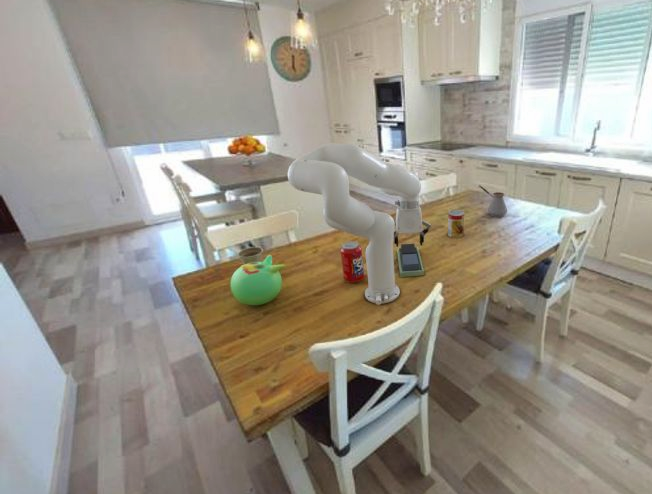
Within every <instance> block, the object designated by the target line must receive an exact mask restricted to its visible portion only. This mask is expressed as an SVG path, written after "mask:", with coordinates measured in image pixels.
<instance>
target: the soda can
mask: <svg viewBox="0 0 652 494" xmlns="http://www.w3.org/2000/svg"><path fill="white" fill-rule="evenodd" d="M362 249H363V248H362V246H361V245H360V243H359V242H357V241H346V242H344V243H342V244H341V248H340V249H339V250H340V258H341V266H342V275H343V280H344V281H345V282H347V283H354V284H355V283H358V282H361V281H362V280H363V279H364V277H365V270H364V261H363V252H362V251H363V250H362Z"/></svg>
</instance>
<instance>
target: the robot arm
mask: <svg viewBox="0 0 652 494" xmlns="http://www.w3.org/2000/svg"><path fill="white" fill-rule="evenodd" d="M418 173H419V172H417V171H415V170H407V169H405V168H403V167H399V166H396V165H394V164H392V163H390V162H387V161H384V160H382V159H380V158H378V157H376V156H375V155H373V154H372V153H370V152H369V151H367V150H365V148H363V147H361V146H359V145H357V144H354V143H353V144H352V143H340V142H328V143H325V144H323V145H320V146H318V147H316V148H314V149H313V150H311V151H309V152H307V153H305V154H303V155H301V156H299V157H298V158H296V159H295V160H293V161H292V162H291V164H290V165H289V167H288V170H287V180H288V183H289V184H290V185H291V187H292V188H294V189H295V190H297V191H300V192H305V193H311V194H316V195H322V196H323V210H322V215H323V219H324V221H325V223H326V225H328V226H329V227H331V228H333V229H335V230H338V231H341V232H343V233H346V234H349V235H352V236H355V237H360V238H364V239H367V240H369V243H368V244H367V246H366V248H365V263H366V272H367V273H366V274H367V275H366V276H367V283H368V284H367V285H368V287H367V288H366V289H365V291H364V297H365V299H366V300H367V301H368V302H370V303H373V304H376V305H377V306H380V305H382V304H387V303H391V302H393V301H395V300H396V299H398V298H399V296H400V293H401V291H400V288H399V287H400V286H398V285H397V284H396V277H395V276H396V275H395V257H394V244H395V246H396V247H397V248H399V235H408V234H419V245H420V246H423V243H425V236H426V234H427V233H429V231H430V229H431V227H432V225H431V223H429V222H427V221H425V220H423V215H422V209H421V206H420V205H419V194H420V193H421V189H422V184H421V183H422V182H421V181H420V179H419V174H418ZM349 177H351V178H353V179H355V180H358V181H360V182H363V183H364V184H367V185H368V186H371V187H375V188H379V189H381V191H382V192H383V193H384V194H386V195H389V196H395V197H398V199H397V200H395V201H394V205H396V212H395V213H396V214H395V220H394V218H393V217H392V216H391V215H390V214H388V213H386V212H382V211H378V210H373V209H372V208H371V207H370V206H369V205H367V204H366V203H364V202H362V201H360V200H359V199H356V198H354V197H353V196H351V195H350V179H349ZM423 226H425V228H424V229H423Z"/></svg>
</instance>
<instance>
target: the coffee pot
mask: <svg viewBox="0 0 652 494" xmlns="http://www.w3.org/2000/svg"><path fill="white" fill-rule="evenodd" d="M478 189H482V190H483V192H484V193H486V194H488V195H489V196H490V197H491V198H492V200H491V201H490V203H489V205H488V207H487V212H488V214H489V215H490V216H491V217H494V218H501V217H504V215H506V214H507V213H508V207H507V205H506V202H505V200H504V196H505V193H504V192H501V191H499V192H498V191H495V192H493V193H492V194H491V193H490V192H489V191H488V190H487V189H486V188H484V187H483V186H482V185H480V184H479V185H478Z"/></svg>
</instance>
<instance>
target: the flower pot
mask: <svg viewBox="0 0 652 494" xmlns="http://www.w3.org/2000/svg"><path fill="white" fill-rule="evenodd" d="M263 252H264V248H263V247H261V246H252V247H251V246H250V247H245V248H243V249H241V250H240V251H238V253H237V257H238V258H239V259H240V260H241V262H242V265H245V264H248V263H252V262H263Z"/></svg>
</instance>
